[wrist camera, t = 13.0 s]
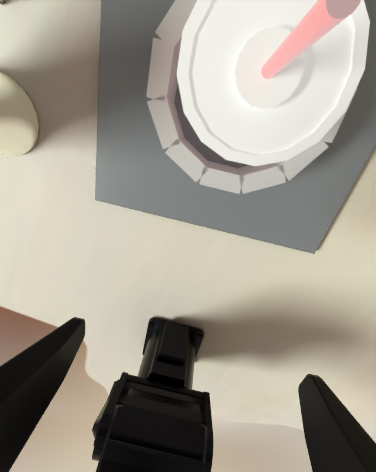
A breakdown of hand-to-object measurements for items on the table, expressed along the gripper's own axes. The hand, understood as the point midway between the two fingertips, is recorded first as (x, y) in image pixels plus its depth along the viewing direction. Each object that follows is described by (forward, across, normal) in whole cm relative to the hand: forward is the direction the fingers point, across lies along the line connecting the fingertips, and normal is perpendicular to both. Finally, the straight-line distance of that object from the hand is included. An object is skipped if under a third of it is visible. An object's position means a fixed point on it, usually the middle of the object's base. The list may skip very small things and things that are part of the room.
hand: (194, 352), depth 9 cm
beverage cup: (+13, 0, -10) cm, 16 cm away
